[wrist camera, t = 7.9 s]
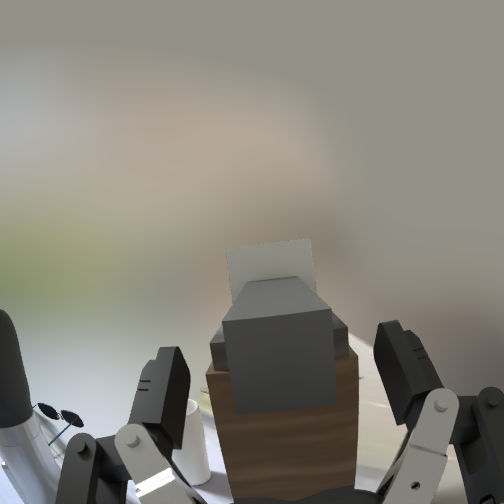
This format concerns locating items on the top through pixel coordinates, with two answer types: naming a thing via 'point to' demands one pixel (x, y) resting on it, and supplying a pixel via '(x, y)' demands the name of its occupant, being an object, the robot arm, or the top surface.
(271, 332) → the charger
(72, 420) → the sunglasses
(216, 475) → the top surface
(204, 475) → the drinking glass
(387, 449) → the top surface
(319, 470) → the wood-grain topped box
